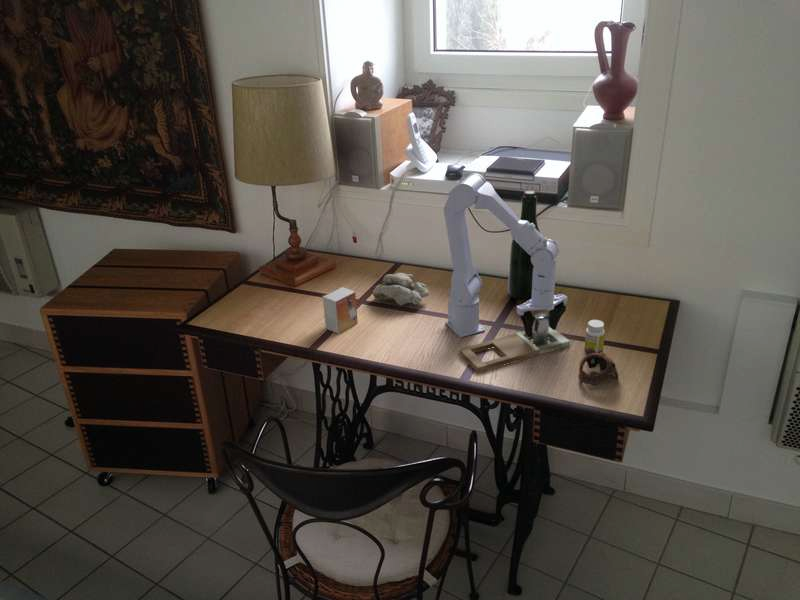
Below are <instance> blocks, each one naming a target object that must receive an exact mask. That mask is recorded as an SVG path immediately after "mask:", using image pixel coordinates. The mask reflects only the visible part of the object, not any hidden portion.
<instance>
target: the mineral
mask: <svg viewBox="0 0 800 600" xmlns="http://www.w3.org/2000/svg"><path fill="white" fill-rule="evenodd" d="M413 277H414V274H411V273H410V274H409V273H408V274H407V273H404V272H397V273H395V274H394V273H389V274H386V275H384V276H383V279H382V283H380V284H378V285H376V286H375V287H374V289H373V291H372V296H373V298H374V299H375V300H378V299H381V300H384V301H385V300H387V299H388V298H389V297H390V298H392V299H393V300H395V302H396V303H397V304H398V305H399V306H404V305H405V304H414V305H417V304H421V302H422V299H424V298H426V297H429V296H430V293H429V292H430V291H429V290H428V288H429V287H428V285H426V284H424V283H422V282H419V281H417V282H415V283H413V280H412V278H413Z"/></svg>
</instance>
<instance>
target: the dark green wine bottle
mask: <svg viewBox="0 0 800 600" xmlns="http://www.w3.org/2000/svg"><path fill="white" fill-rule="evenodd" d="M537 204H538V196H537V193H536V191H535V190H524V191H523V195H522V196H521V211H520V212H521V213H520V218H519V219H520V220H526V221H528V222H529V223H530V224H531V223H533V224H534V225H535V229H536V230H537V231H538V232H539V233H540V234H541V232H540V228H539V224H538V219H537V218H538V217H537V206H538V205H537ZM541 235H542V234H541ZM509 250H510V251H509V262H508V283H507V292H508V293H507V294H508V295H509V296H510V297H511V298H513V299H515V300H519V301H524V302H525V301H526V302H527V301H529V300H530V299H531V298H532V279H533V268H534V266H533V264H532V262H531V257H532V256H530V255H529V254H528V253H527V252H526V251H525V250H524V249H523V248H522V247H521V246H520V245H519V244H518V243H517V242H516V241H515V240H514V239H513V238H512V240H511V243H510V249H509Z"/></svg>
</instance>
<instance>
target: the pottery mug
mask: <svg viewBox="0 0 800 600" xmlns="http://www.w3.org/2000/svg"><path fill="white" fill-rule="evenodd" d="M584 352H585V354H586V355H585V356H584V357H583V358H582V359H581V361H580V362H579V370H578V372H579V373H578V379H579V382H580V383H581V384H582V383H583V384H585V385H591V386H596V385H601V384H604V383H611V380H610V376H609V375H614V377H615V379H616V380H617V381H618V380H619V371H618V370H617V367H616V363H615V361H614V360H613V359H612V358H611V357H609V356H607V355H605V354H603V353H601V354H600V353H596V352H595V350H594V349H593V348H588V349H586V351H585V350H584ZM586 363H587V366H588V368H589V369H595V368H596V367H597V366H599V370H600V371H601V373H599V374H596V375H591V374H588V373H586V372H585V370H583V369H584V366H585V364H586Z"/></svg>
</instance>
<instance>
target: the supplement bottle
mask: <svg viewBox="0 0 800 600" xmlns="http://www.w3.org/2000/svg"><path fill="white" fill-rule="evenodd" d="M604 328H605V323H604V322H603V321H602V320H599V319H591V320H589V321H588V323H587V328H586V329H585V338H584V349H583V350H584V352H585V351H586V349H588V348H593V349H594V350H595V352H596V353H600V354H603V352H604V344H605V343H604V342H605V335H606V331H605V329H604Z"/></svg>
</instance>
